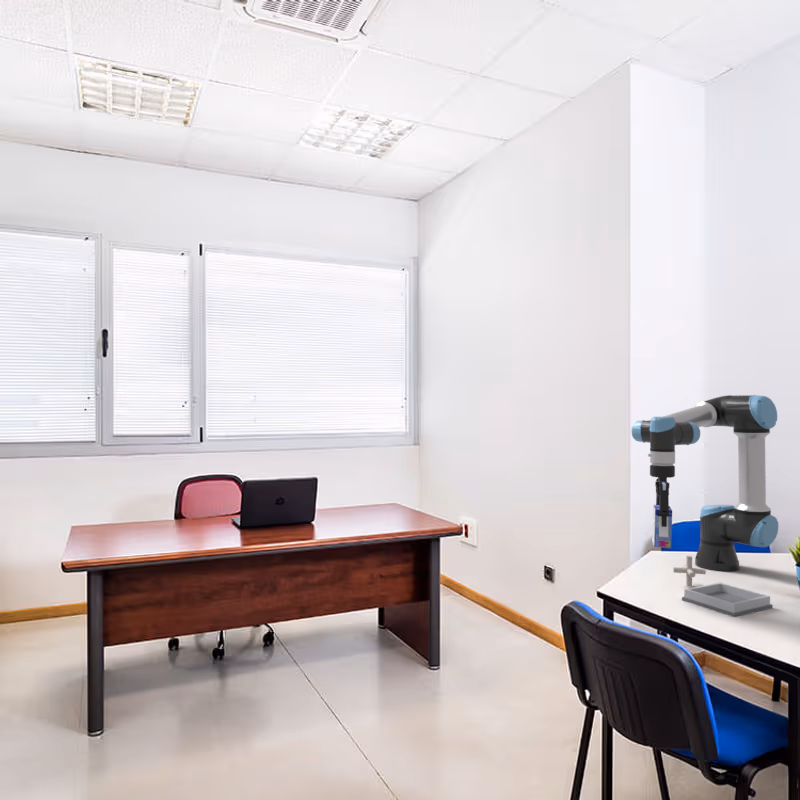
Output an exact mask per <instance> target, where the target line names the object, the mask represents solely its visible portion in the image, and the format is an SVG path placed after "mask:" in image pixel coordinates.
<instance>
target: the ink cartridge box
mask: <svg viewBox="0 0 800 800" xmlns="http://www.w3.org/2000/svg"><path fill="white" fill-rule="evenodd" d="M652 511H653V512H652V513H653V514H652V534H651V535H652V536H651V541H652V545H653V547H654V548H662V549H672V541H673V540H672V534H673V530H672V529H673V509H672V508H671V506H670V505H669V515H668V537H659V516H657V514H659V513H660V508H659V505H656V504H653V508H652Z"/></svg>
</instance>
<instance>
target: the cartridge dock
mask: <svg viewBox="0 0 800 800" xmlns="http://www.w3.org/2000/svg"><path fill="white" fill-rule="evenodd" d="M683 591H684V595H683V596H681V600H682V601H683V602H685V603H690V604H693V605H696V606H699V607H702V608H704V609H705V608H706V609H708V610H711V611H715V612H718V613H721V614H724V615H728V616H729V617H730V616H731V617H733V618H735V617H740V616H741V617H742V616H744V615H748V614H749V615H750V614H753V613H757V612H762V611H767V610H769V609H773V606H774V605H773V604H771V596H770V595H767V594H764V593H759V592H756V591H752V590H750V589H749V590H748V589H745V588H742V587H737V586H734V585H730V584H727V583H723V582H715V583H710V584H705V585H699V586H694V587H689V588H685V589H684V590H683Z"/></svg>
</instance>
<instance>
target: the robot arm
mask: <svg viewBox="0 0 800 800" xmlns="http://www.w3.org/2000/svg"><path fill="white" fill-rule="evenodd" d="M777 421H778V410H777V407H776V404H775V403H774V401H773V400H772V399H771V398H770V397H768V396H765V395H756V394H753V395H752V394H751V395H749V394H748V395H747V394H746V395H742V394H741V395H740V394H739V395H731V394H729V395H721V396H718V397H713V398H710V399H707V400H704V401H701V402H698V403H697V404H696V405H695V406H693V407H691V408H688V409H687V408H686V409H683V410H681V411H677V412H674V413H671V414H667V415H664V416H652V417H651V418H650V420H644V419H643V420H636V421H635V422H634V423H633V424H632V426H631V436H632V439H634V441H637V442H639V443H640V442H641V443H645V444H646V443H649V444H650V445H649V446H650V447H649V451H650V452H649V453H648V454H647V457H650V458H649V462H650V465H649V475H650V476H651V477H652V478H656V480H655V484H654V486H655V494H656V495H655V500H656V501H655V505H659V508H660V513H659V514H657V516H659V537H668V515H669V506H670V505H669V504H670V502H669V500H670V498H669V495H670V482H669V481H668V479H670V478H674V477H676V466H675V464H676V446H682V445H683V446H689V445H693V444H696V443H697V442H699V440H700V438H701V429H700V428H701V427H702V428H710V427H728V428H729V427H730V428H731V427H732V428H733V434H734V435H736V436H737V442H738V444H737V445H738V446H737V449H738V451H737V452H738V503H737V504H736V505H735V506H734V505H732V504H711V505H709V504H708V505H704V506H702V507H701V509H700V515H699V519H700V521H699V522H700V523H699V525H700V526H699V527H700V528H699V529H700V534H699V538H700V540H699V543H700V544H699V546H698V549H697V552H696V555H695V558H694V564H695V566H697V567H700V568H701V569H705V570H706V569H707V570H712V571H723V572H724V571H725V572H726V571H727V572H731V571H737V570H739V569H740V560H739V559H738V555H737V552H736V549H735V543H738V544H743V545H748V546H752V547H757V548H758V547H760V548H766V547H769V546H771V545H772V544H773V543H774V542H775V540H776V538H777V535H778V533H779V521H778V518H777V516H774V515H772V511H771V508H770V507H769V506H768V505H767V503H766V500H767V499H766V498H767V495H766V494H767V492H766V491H767V490H766V489H767V488H766V486H767V485H766V484H767V483H766V478H767V477H766V437H767V436H768V435H770V433H771V429H773V428H774V427H775V426H776V424H777Z"/></svg>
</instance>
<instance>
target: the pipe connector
mask: <svg viewBox="0 0 800 800" xmlns="http://www.w3.org/2000/svg"><path fill="white" fill-rule="evenodd" d="M685 556H686V557H685V558H686V559H685V561H686V562H685V563H686V564H684V565H683V567H679V566H678V567H677V566H673V567H672V568H673V569H672V571H673V573H678V574H686V576H685V578H686V579H685V585H686V586H687V587H693V578H695V577H696V575H706V568H698V567H697V568H696V567H695V568H694V567H693V556H692V555H685Z"/></svg>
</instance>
